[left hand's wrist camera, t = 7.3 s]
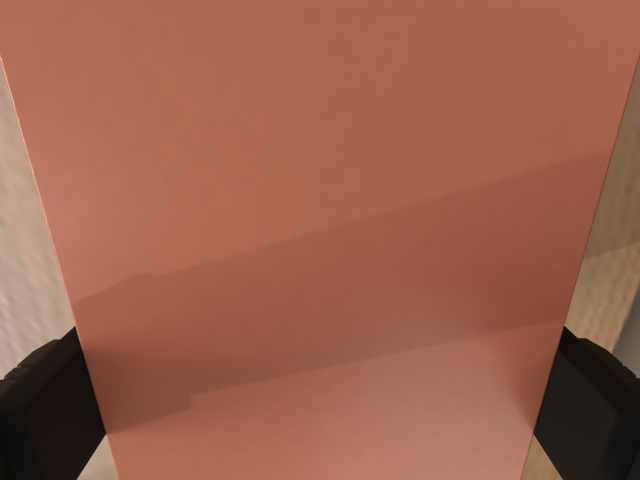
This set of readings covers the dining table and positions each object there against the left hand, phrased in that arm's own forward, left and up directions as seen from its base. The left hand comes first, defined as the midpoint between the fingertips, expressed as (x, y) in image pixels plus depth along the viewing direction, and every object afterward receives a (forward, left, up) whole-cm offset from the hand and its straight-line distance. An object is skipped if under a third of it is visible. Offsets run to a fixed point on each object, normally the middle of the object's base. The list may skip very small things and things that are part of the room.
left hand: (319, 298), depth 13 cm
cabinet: (+5, +1, -4) cm, 7 cm away
